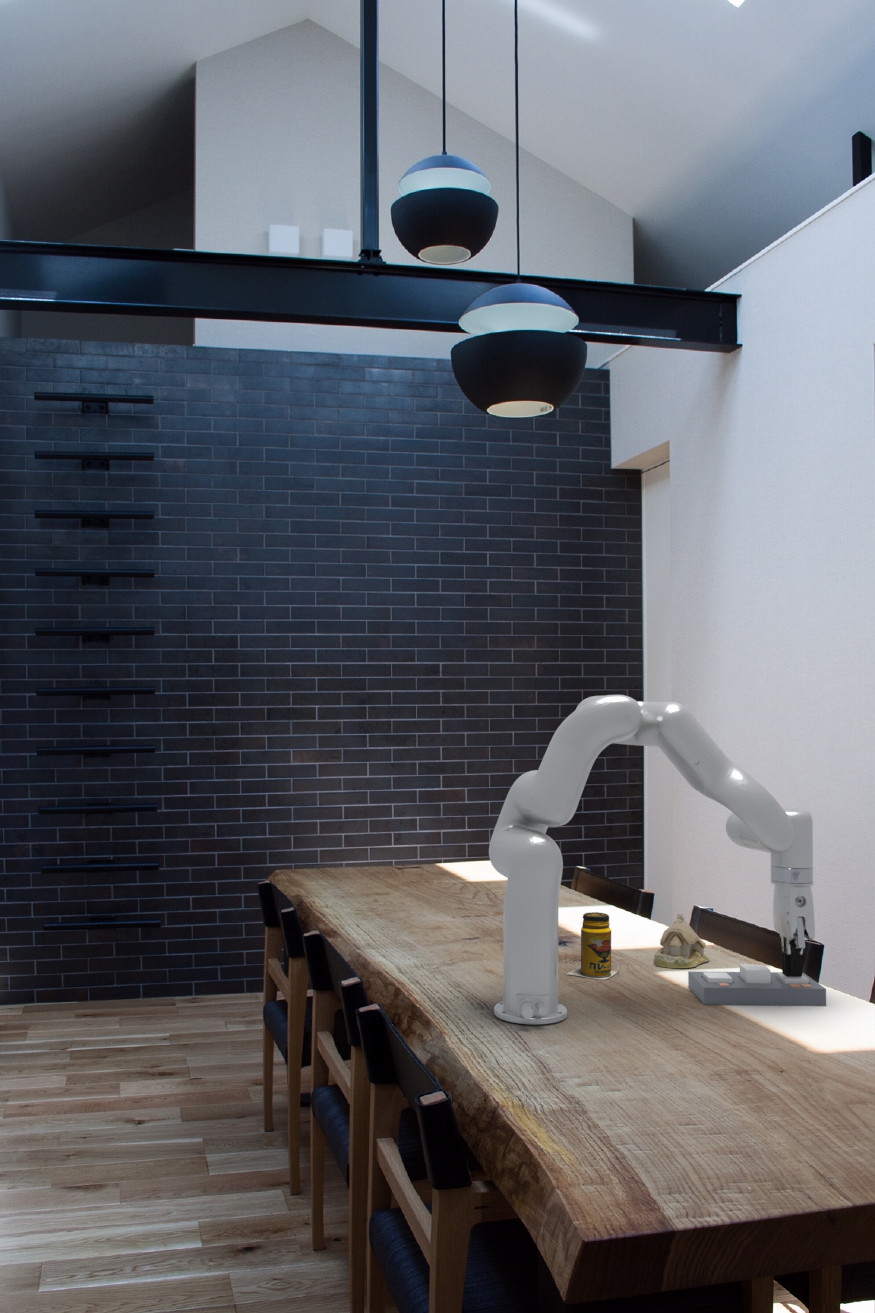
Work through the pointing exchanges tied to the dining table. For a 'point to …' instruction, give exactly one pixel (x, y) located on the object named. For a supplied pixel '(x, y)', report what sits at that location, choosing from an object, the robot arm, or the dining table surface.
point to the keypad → (756, 991)
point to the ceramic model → (680, 947)
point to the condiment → (595, 947)
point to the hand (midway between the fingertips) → (792, 975)
